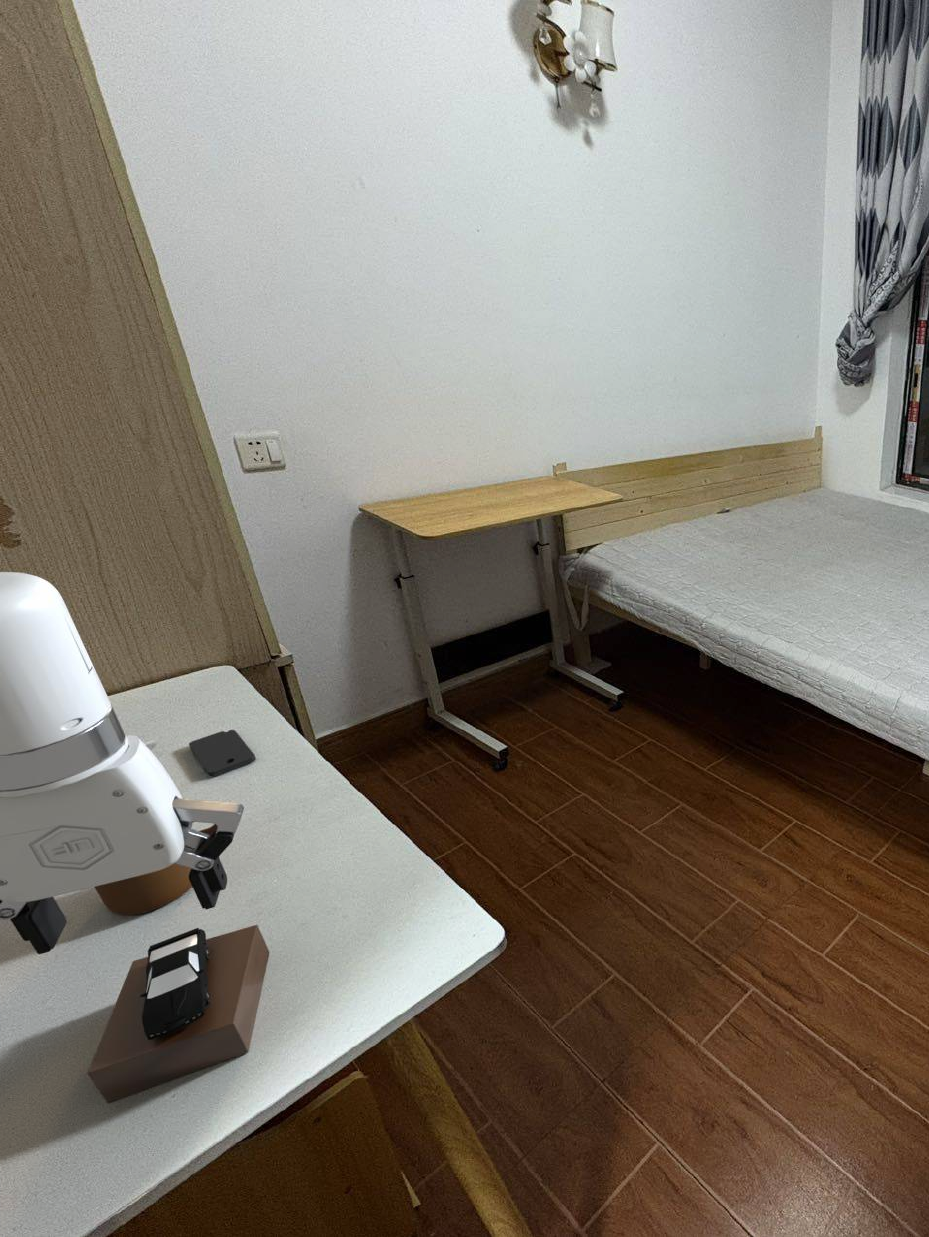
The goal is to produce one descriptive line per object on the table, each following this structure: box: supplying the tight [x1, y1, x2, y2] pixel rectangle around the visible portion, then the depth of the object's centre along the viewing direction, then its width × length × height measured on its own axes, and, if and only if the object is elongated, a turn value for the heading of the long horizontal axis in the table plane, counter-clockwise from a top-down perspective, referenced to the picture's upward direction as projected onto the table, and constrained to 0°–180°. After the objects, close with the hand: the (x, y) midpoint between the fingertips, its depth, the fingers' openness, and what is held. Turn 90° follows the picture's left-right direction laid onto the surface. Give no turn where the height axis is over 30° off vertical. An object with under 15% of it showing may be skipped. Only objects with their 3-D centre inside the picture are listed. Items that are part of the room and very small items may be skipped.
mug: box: [93, 822, 218, 916], centre depth 71 cm, size 12×8×9 cm, turn 124°
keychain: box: [188, 729, 257, 778], centre depth 92 cm, size 5×1×10 cm
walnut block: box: [87, 924, 270, 1104], centre depth 59 cm, size 9×11×4 cm
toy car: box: [140, 927, 211, 1040], centre depth 58 cm, size 10×4×3 cm, turn 40°
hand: (137, 916), depth 55 cm, fingers open, 9 cm apart
